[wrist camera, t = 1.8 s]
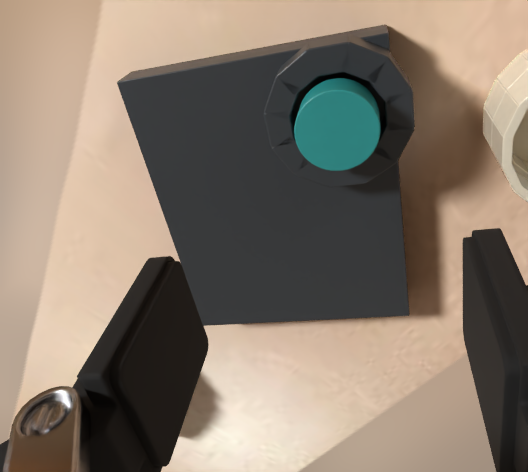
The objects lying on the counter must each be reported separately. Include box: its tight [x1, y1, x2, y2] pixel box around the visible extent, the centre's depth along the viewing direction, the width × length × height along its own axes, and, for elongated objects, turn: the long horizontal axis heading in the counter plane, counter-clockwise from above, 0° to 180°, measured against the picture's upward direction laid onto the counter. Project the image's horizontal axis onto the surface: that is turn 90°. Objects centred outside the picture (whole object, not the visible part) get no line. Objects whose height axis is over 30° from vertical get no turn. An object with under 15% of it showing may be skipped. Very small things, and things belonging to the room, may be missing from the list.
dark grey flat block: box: [117, 25, 415, 326], centre depth 27 cm, size 16×14×4 cm
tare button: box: [294, 78, 380, 171], centre depth 22 cm, size 4×4×2 cm
